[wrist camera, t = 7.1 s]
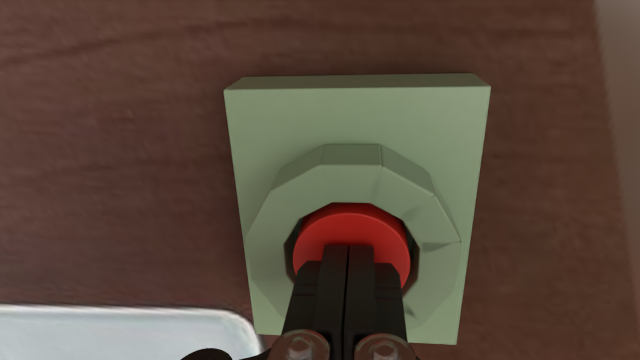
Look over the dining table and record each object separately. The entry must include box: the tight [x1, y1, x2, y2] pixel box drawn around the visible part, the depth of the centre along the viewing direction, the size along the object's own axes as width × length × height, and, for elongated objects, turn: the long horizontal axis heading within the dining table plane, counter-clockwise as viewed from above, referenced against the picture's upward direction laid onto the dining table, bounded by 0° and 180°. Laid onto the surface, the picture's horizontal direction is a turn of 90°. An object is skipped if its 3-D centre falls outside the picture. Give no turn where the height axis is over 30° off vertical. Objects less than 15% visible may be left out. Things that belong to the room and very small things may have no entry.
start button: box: [293, 202, 410, 288], centre depth 13 cm, size 4×4×2 cm
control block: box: [224, 73, 491, 345], centre depth 14 cm, size 8×10×4 cm
